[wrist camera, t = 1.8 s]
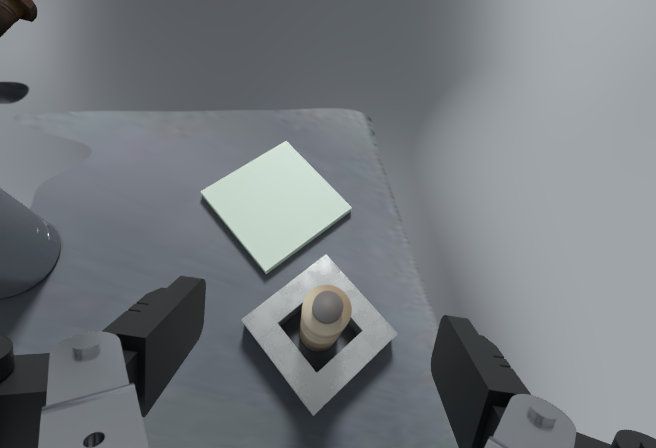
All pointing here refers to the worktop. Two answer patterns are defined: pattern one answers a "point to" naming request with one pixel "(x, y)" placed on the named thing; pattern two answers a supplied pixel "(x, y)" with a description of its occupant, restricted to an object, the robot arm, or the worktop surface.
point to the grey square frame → (290, 360)
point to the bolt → (15, 13)
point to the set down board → (276, 205)
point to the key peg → (324, 317)
